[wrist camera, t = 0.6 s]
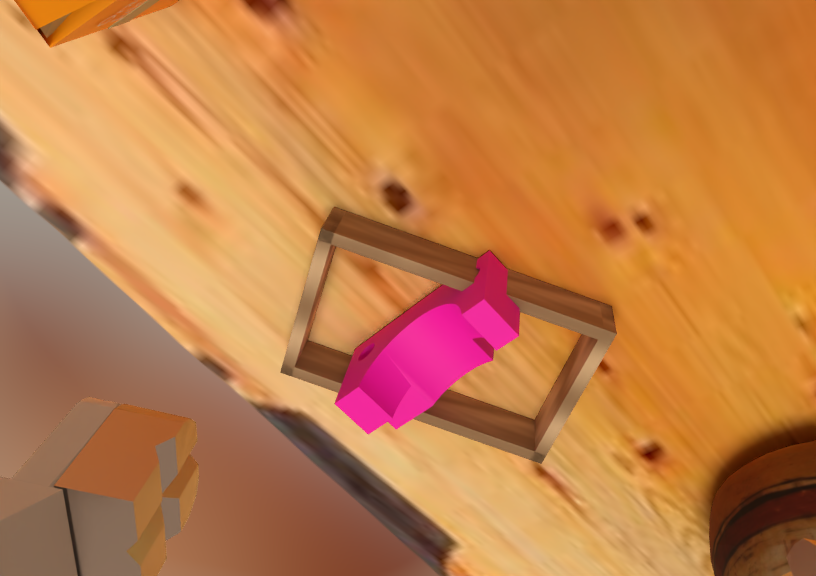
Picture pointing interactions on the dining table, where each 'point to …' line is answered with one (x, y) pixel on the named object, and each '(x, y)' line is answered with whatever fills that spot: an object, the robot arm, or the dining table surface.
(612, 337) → the wooden rectangular frame
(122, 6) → the orange juice
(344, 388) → the toy block
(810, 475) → the ceramic pitcher
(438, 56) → the dining table surface
